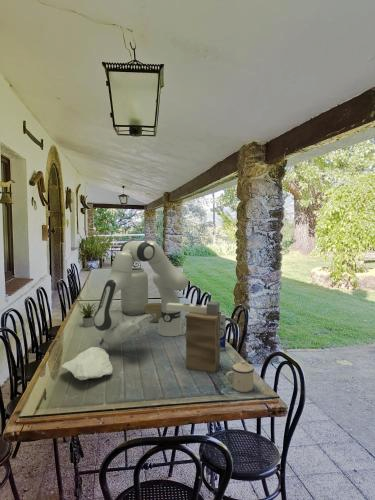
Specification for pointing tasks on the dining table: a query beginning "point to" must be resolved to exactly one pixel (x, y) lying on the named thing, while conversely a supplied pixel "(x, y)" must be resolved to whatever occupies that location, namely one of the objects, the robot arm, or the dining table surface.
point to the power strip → (195, 308)
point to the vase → (135, 293)
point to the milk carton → (222, 332)
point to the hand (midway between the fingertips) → (151, 317)
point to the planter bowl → (154, 310)
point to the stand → (202, 341)
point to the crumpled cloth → (90, 364)
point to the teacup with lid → (242, 376)
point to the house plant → (87, 315)
